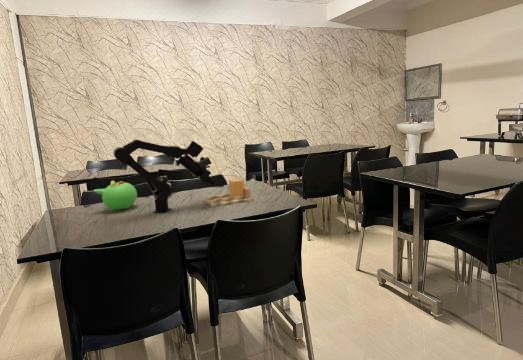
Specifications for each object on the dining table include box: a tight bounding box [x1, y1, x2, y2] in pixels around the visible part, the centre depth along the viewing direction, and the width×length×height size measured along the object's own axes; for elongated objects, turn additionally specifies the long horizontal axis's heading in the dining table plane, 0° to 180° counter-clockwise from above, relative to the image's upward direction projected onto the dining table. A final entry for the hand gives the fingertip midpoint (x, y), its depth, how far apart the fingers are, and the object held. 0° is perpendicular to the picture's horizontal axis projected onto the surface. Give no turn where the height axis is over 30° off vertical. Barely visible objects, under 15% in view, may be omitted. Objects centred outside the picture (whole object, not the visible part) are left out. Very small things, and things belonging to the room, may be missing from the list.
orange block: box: [228, 178, 245, 197], centre depth 194 cm, size 6×6×9 cm
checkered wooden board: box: [203, 193, 254, 208], centre depth 193 cm, size 22×14×3 cm, turn 113°
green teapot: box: [93, 180, 138, 211], centre depth 188 cm, size 18×17×15 cm
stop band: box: [244, 185, 251, 199], centre depth 196 cm, size 2×12×5 cm, turn 23°
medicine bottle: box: [156, 175, 173, 199], centre depth 210 cm, size 7×7×12 cm
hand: (213, 183), depth 189 cm, fingers closed
